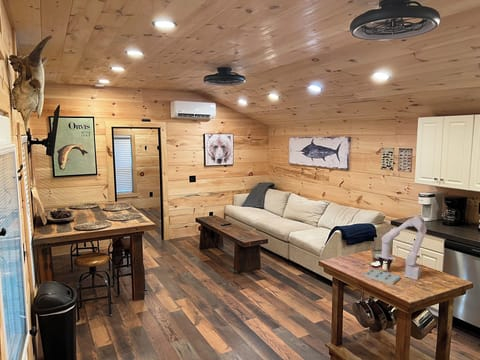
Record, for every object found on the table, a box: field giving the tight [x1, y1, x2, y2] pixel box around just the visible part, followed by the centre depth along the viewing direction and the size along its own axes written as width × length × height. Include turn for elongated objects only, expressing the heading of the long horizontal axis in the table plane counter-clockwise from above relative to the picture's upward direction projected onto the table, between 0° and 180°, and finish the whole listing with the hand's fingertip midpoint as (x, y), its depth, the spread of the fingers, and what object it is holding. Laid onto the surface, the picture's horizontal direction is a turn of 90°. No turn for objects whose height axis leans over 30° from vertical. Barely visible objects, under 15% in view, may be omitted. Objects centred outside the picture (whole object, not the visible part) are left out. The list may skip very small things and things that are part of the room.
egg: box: [381, 263, 389, 272], centre depth 262 cm, size 4×4×5 cm
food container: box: [370, 246, 387, 263], centre depth 284 cm, size 12×6×10 cm, turn 84°
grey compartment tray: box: [363, 268, 401, 286], centre depth 251 cm, size 20×14×2 cm
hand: (385, 268), depth 262 cm, fingers closed on egg, 4 cm apart
